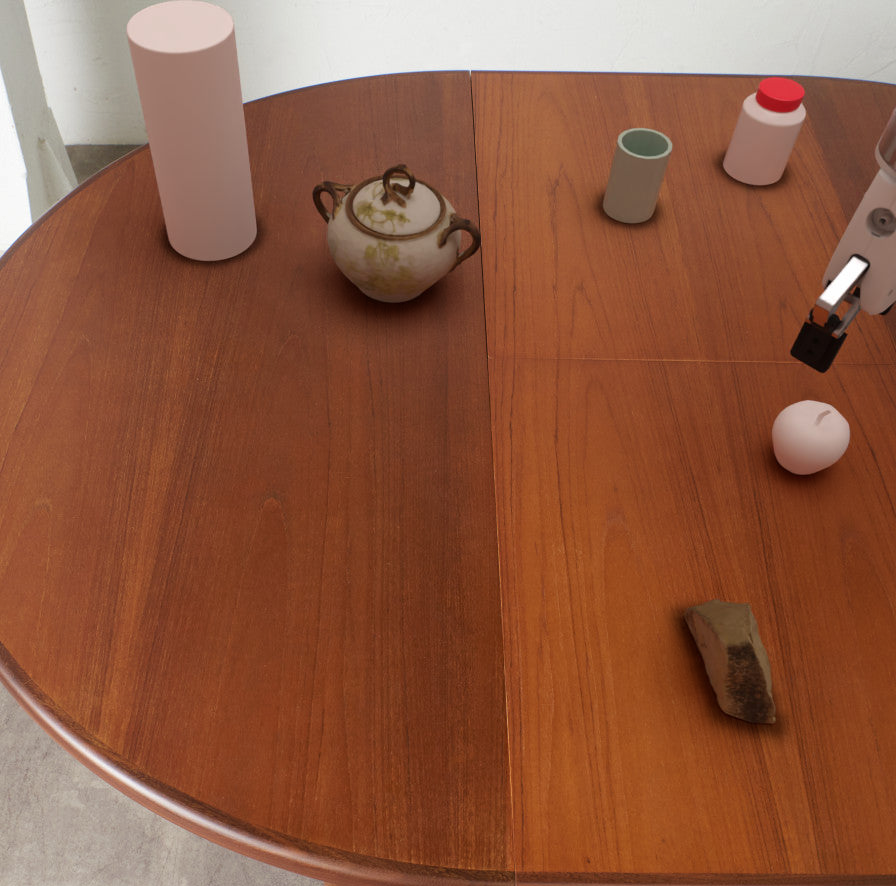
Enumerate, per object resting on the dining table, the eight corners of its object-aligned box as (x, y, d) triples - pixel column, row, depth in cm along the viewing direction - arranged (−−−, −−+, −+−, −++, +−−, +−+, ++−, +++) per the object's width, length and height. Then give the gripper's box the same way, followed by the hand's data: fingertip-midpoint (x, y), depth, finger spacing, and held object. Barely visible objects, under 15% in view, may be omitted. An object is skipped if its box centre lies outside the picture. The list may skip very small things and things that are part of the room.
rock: (658, 583, 82) (651, 674, 76) (743, 544, 77) (744, 639, 70) (734, 650, 86) (734, 743, 79) (821, 617, 80) (829, 715, 73)
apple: (772, 488, 92) (803, 434, 85) (752, 433, 96) (779, 378, 90) (842, 486, 92) (878, 432, 86) (819, 431, 96) (851, 376, 90)
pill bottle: (773, 192, 121) (805, 112, 112) (714, 174, 123) (741, 94, 114) (789, 162, 125) (821, 83, 116) (732, 145, 127) (760, 65, 118)
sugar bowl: (493, 263, 112) (509, 149, 100) (451, 344, 103) (463, 230, 91) (341, 222, 116) (338, 108, 104) (289, 297, 107) (279, 182, 95)
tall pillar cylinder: (152, 248, 112) (105, 39, 92) (194, 198, 118) (159, -9, 98) (232, 270, 110) (203, 60, 90) (271, 218, 116) (251, 10, 96)
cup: (632, 187, 121) (649, 122, 114) (664, 214, 118) (683, 149, 111) (592, 201, 119) (606, 136, 112) (623, 229, 116) (640, 164, 109)
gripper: (933, 224, 58) (825, 412, 72) (1050, 118, 65) (931, 307, 79) (825, 172, 61) (741, 361, 75) (948, 76, 69) (851, 265, 82)
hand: (839, 333), depth 77 cm, fingers open, 9 cm apart
